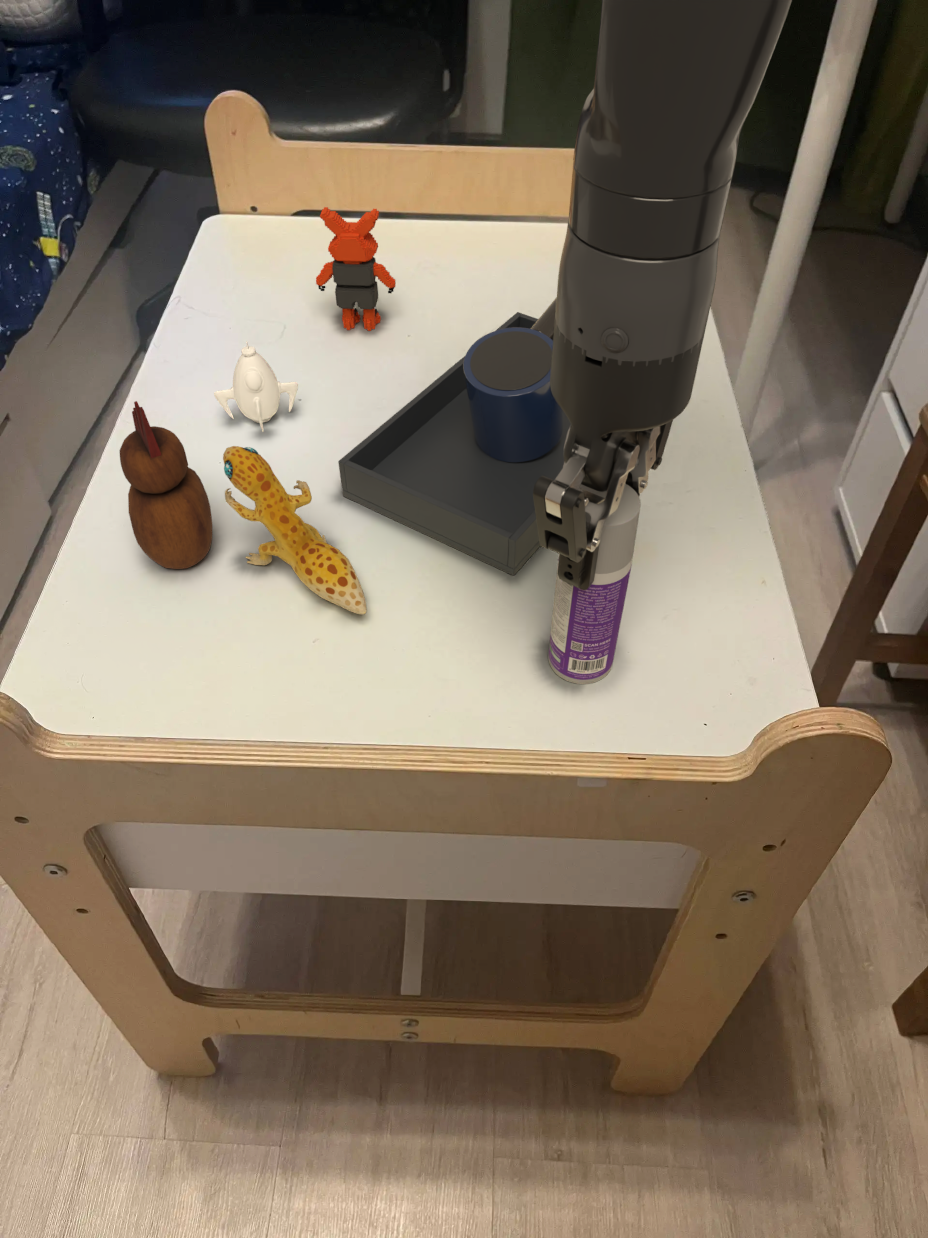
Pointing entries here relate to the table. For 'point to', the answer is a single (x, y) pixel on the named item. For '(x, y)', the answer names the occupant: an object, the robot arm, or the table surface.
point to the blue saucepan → (514, 391)
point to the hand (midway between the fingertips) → (595, 556)
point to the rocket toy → (255, 388)
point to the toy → (290, 530)
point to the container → (595, 600)
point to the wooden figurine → (165, 496)
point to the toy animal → (354, 268)
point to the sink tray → (451, 475)
